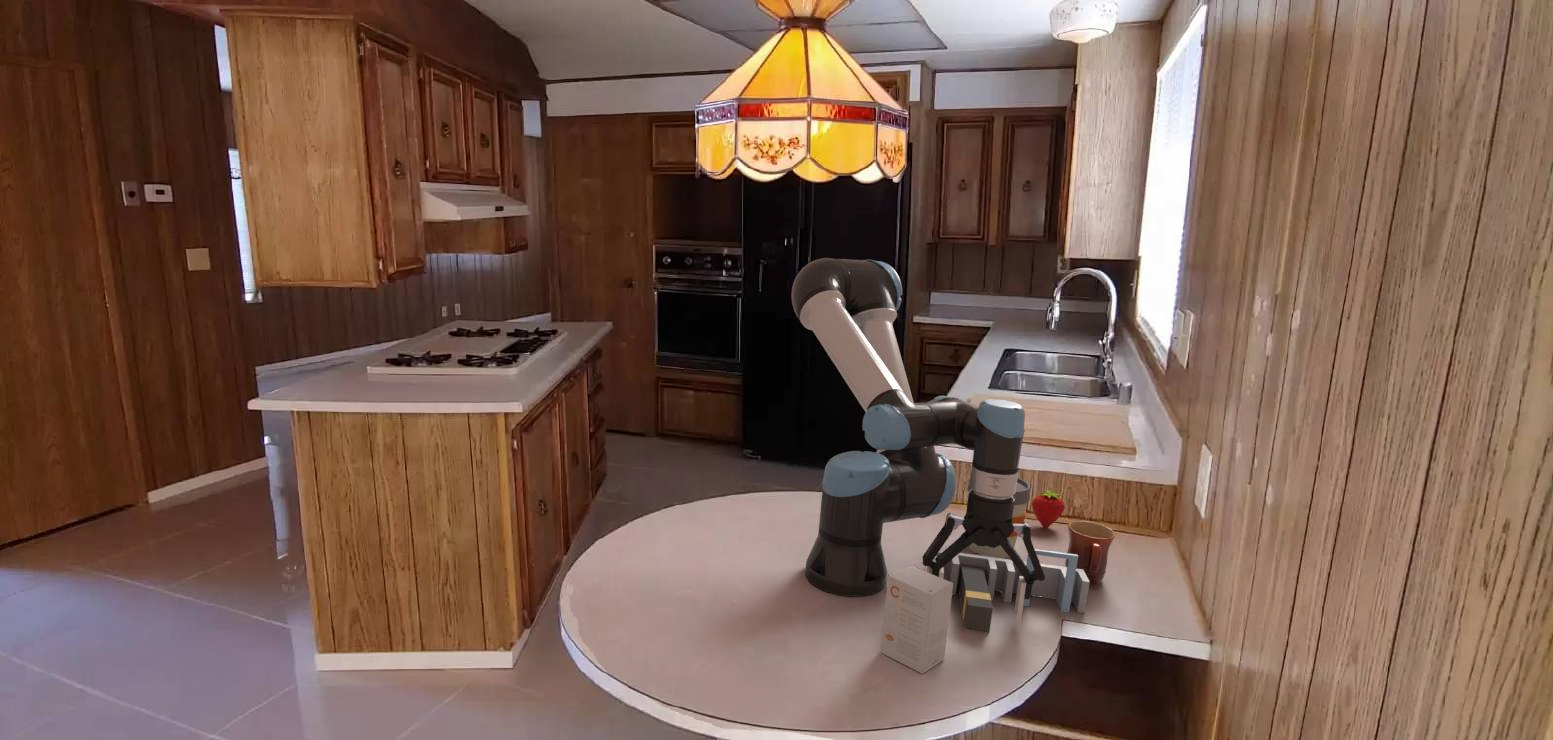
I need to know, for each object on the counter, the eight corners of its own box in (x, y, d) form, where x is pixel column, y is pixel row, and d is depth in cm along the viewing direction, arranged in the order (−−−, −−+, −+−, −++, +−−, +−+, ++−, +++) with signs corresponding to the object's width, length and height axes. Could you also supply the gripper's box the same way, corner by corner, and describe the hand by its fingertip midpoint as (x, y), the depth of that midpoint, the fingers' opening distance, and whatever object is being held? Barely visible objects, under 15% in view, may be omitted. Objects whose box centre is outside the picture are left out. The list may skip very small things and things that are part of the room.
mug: (1057, 565, 162) (1064, 518, 160) (1102, 572, 161) (1110, 524, 158) (1066, 592, 151) (1074, 541, 149) (1114, 599, 149) (1123, 548, 147)
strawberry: (1023, 522, 184) (1029, 481, 182) (1053, 522, 186) (1059, 481, 184) (1035, 532, 179) (1042, 490, 177) (1066, 532, 180) (1073, 490, 178)
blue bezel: (1020, 605, 144) (1029, 549, 142) (1020, 604, 144) (1028, 548, 142) (1069, 612, 143) (1078, 556, 140) (1068, 610, 143) (1077, 554, 141)
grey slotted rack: (926, 590, 146) (930, 560, 145) (925, 578, 152) (929, 548, 150) (1084, 613, 143) (1089, 582, 142) (1078, 599, 148) (1083, 569, 147)
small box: (944, 660, 124) (955, 582, 121) (922, 675, 119) (932, 595, 117) (901, 638, 129) (910, 564, 127) (878, 652, 125) (887, 575, 122)
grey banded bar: (964, 629, 134) (968, 604, 133) (957, 586, 149) (960, 563, 148) (989, 633, 133) (993, 608, 132) (980, 589, 149) (983, 567, 148)
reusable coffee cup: (1025, 566, 161) (1036, 495, 158) (962, 557, 162) (971, 487, 159) (1016, 541, 173) (1026, 475, 170) (958, 533, 175) (966, 468, 172)
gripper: (917, 491, 132) (904, 610, 136) (1073, 509, 128) (1056, 630, 132) (916, 477, 139) (904, 590, 143) (1064, 494, 136) (1048, 609, 140)
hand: (977, 610), depth 138 cm, fingers open, 13 cm apart
